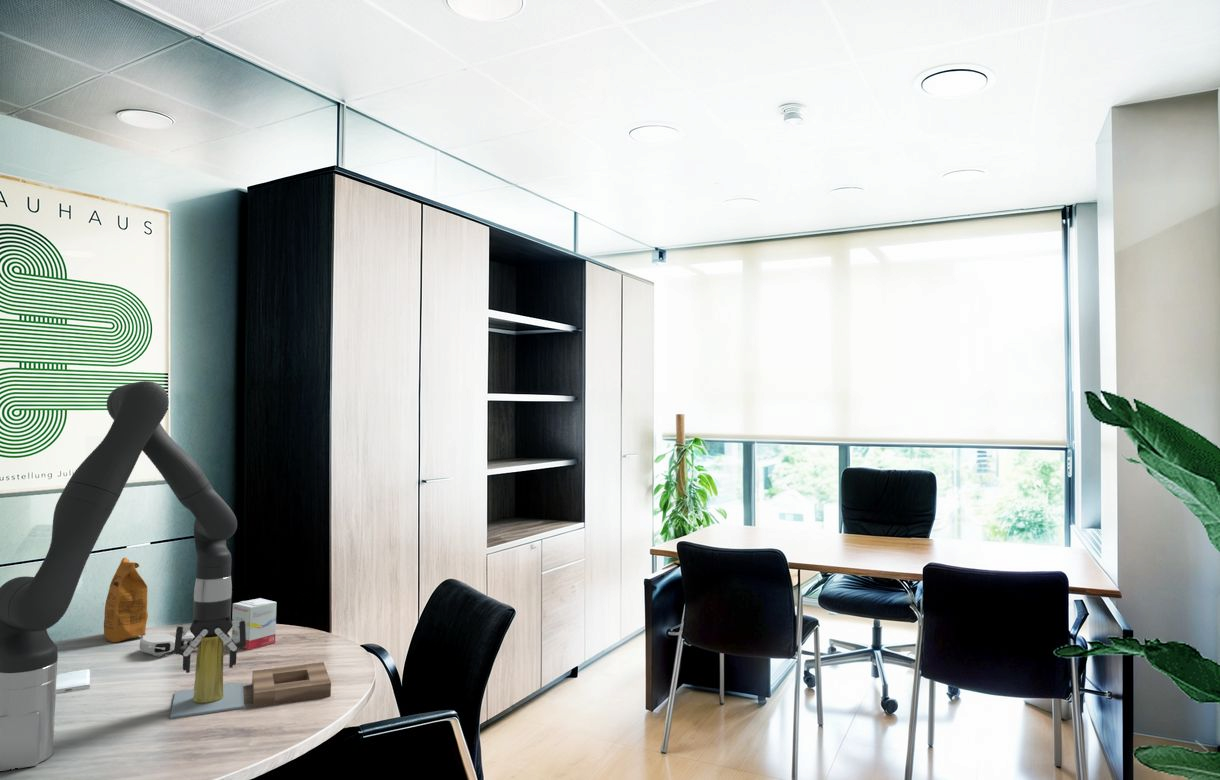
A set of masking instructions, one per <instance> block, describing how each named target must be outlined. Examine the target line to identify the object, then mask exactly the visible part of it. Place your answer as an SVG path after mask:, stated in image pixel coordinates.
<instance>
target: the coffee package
mask: <svg viewBox="0 0 1220 780" xmlns="http://www.w3.org/2000/svg"><path fill="white" fill-rule="evenodd" d="M139 567H140V564H139V563H138V562H133V561H132V562H131V561H130V560H129V559H128V558H127V557H122V559H121V560H120V563H119V565H118V567H117V568H116V571H115V574H114V575H113V577H112V579H111V582H110V584H109V587H108V593H107V597H106V599H105V604H104V613H103V614H104V619H103V620H104V621H103V636H104V637H105V640H106V641H108V642H110V643H119V642H122V641H123V642H124V641H126V640H132V639H135V638H136V639H137V638H139V637H138V636H146V635H147V634H146V627H147V623H148V617H149V613H148V585H147V583H146V582H145V580H144V579H143V578H142V576H141V575H140V573H138V571H137V569H138V568H139Z"/></svg>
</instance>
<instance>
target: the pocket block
mask: <svg viewBox="0 0 1220 780" xmlns="http://www.w3.org/2000/svg"><path fill="white" fill-rule="evenodd" d="M251 677H252V679H251V680H252V681H251V682H252V683H251V686H252V699H253V707H254V708H257V707H262V706H271V705H277V704H283V703H292V702H298V701H305V700H311V699H317V698H319V699H320V698H327V697H331V694H332V692H331V691H332V682H331V678H330V675H329V674H328V671H327V667H326V665H325V662H323V661H322V662H315V663H313V662H311V663H305V664H297V665H289V666H282V667H273V668H264V669H257V670H252V676H251Z"/></svg>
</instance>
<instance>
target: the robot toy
mask: <svg viewBox="0 0 1220 780" xmlns="http://www.w3.org/2000/svg"><path fill="white" fill-rule="evenodd" d="M194 637H195V636H194V635H193V634H192V633H191V631H187V633H186V635H185V636H182V643H181V647H183V648H186V647H187V646H188V644H189V643H190V642H191V640H192V639H193V638H194ZM137 638H140V640H139V646H138V647H139V650H140V651H142V652H143V653H146V654H149V655H152V656H154V657H162V656H164V655H165V654H166V653H171V652H174V647H175V638H176V634H175V635H172V634H169V633H153V634H152V633H151V634H145V635H143V636H138V637H137ZM195 648H198V645H197V646H196V647H195Z"/></svg>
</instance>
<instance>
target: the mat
mask: <svg viewBox="0 0 1220 780" xmlns="http://www.w3.org/2000/svg"><path fill="white" fill-rule="evenodd" d="M223 694H224V696H223V697H222V698H221V699H220V700H217V701H214V702H210V703H196V702H194V701H193V697H194V688H191V689H183V690H175V691H174V696H173V701H172V705H171V710H170V715H169V719H170V720H171V719H178V718H179V719H180V718H188V717H192V716H201V715H207V714H214V713H221V712H229V711H234V710H235V711H236V710H242V709H245V701H244V698H245V697H244V696H245V695H244V683H243V682H237V683H230V684H223Z"/></svg>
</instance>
